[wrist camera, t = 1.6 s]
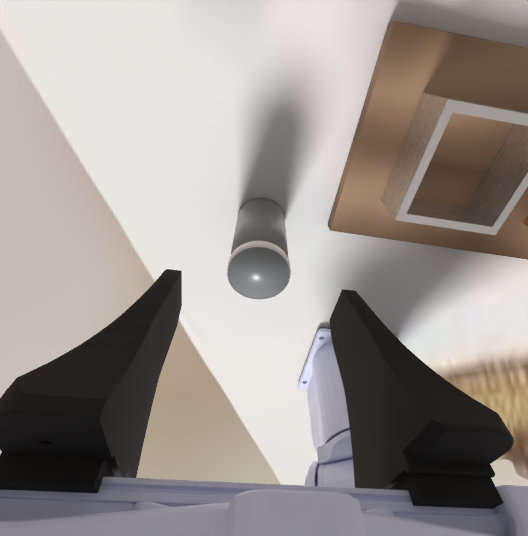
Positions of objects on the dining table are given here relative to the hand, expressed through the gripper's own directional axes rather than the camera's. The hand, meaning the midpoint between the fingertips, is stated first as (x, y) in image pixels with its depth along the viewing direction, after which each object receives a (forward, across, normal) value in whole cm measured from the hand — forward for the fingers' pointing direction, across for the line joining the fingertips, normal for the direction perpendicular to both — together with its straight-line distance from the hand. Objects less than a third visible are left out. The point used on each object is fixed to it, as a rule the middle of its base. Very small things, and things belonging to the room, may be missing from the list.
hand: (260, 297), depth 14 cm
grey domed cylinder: (+10, 0, +2) cm, 10 cm away
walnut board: (+10, -16, -5) cm, 20 cm away
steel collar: (+10, -11, -5) cm, 16 cm away
